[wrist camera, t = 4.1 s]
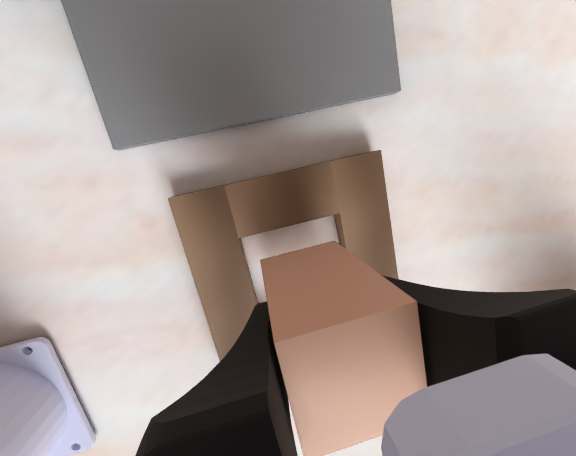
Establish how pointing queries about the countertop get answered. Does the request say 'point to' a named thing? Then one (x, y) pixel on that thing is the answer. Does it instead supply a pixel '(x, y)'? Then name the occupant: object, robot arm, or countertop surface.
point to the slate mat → (228, 61)
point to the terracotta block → (341, 344)
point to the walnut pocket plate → (272, 215)
